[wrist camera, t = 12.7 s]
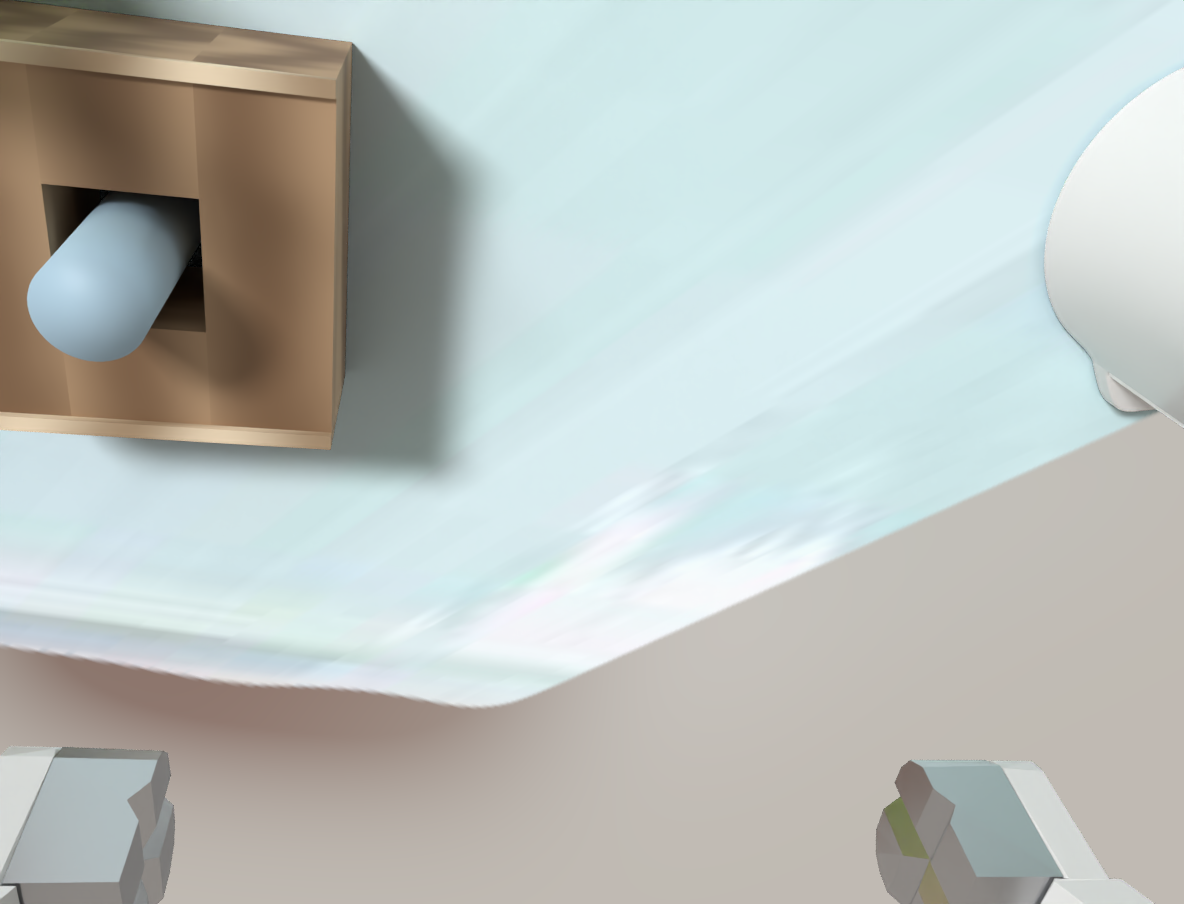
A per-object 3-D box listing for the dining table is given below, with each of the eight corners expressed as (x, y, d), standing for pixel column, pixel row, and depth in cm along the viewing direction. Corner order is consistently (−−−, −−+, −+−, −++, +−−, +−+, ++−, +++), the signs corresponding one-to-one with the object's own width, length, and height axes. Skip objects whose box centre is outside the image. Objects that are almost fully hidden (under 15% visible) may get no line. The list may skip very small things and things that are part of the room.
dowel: (208, 167, 41) (144, 262, 32) (213, 254, 43) (153, 365, 34) (110, 157, 40) (19, 251, 32) (119, 246, 42) (35, 357, 34)
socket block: (352, 42, 39) (336, 80, 34) (345, 375, 46) (330, 449, 41) (-56, -8, 37) (-143, 24, 31) (3, 350, 44) (-60, 426, 39)
